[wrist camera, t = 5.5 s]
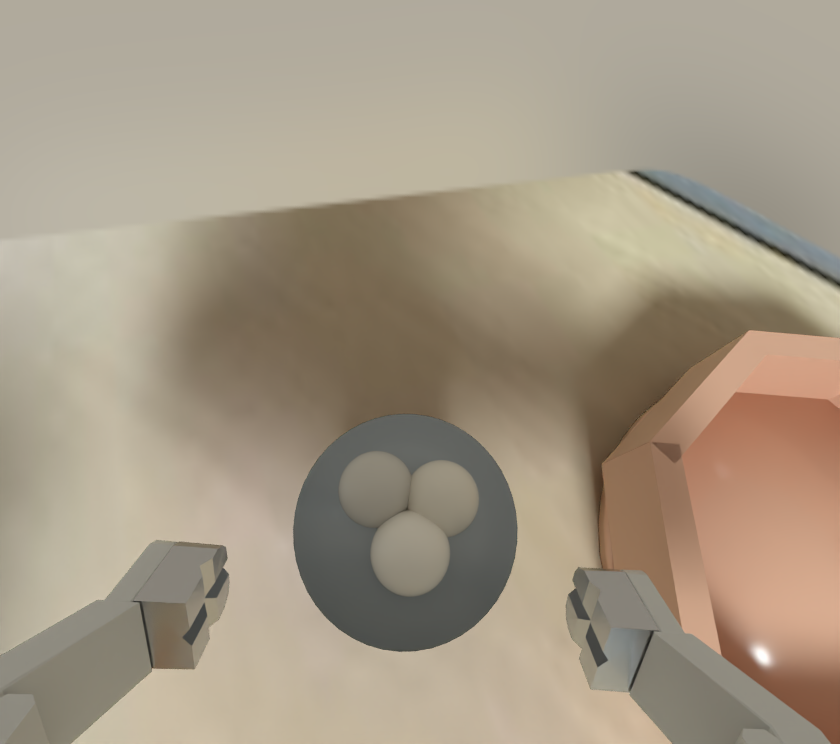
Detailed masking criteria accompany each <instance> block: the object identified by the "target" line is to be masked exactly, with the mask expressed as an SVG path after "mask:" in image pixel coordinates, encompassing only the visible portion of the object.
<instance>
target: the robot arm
mask: <svg viewBox="0 0 840 744" xmlns="http://www.w3.org/2000/svg"><path fill="white" fill-rule="evenodd" d="M226 561H227V551H226V547H224V546H223V545H213V544H201V543H190V542H173V541H162V540H156V541H154V542H152V543H151V544H149V545H148V547H147V548H146V549H145V550H144V552H143V553H142V554H141V555H140V557H139V558H138V559H137V560H136V562H135V563H134V564H133V565H132V567H131V568H130V569H129V570H128V572H127V573H126V574H125V575H124V577H123V578H122V579H121V580H120V582H119V583H118V584H117V585H116V587H115V588H114V589H113V590H112V592H111V593H110V594H109V595H108V596H107V598H106V599H105V600H96V601H95V602H93V603H91V604H89V605H88V606H86V607H84V608H82V609H81V610H79V611H77V612H75V613H74V614H72V615H70V616H68V617H67V618H65V619H63V620H62V621H60V622H58V623H56V624H55V625H53V626H51V627H49V628H48V629H46V630H44V631H42V632H41V633H39V634H37V635H35V636H34V637H32V638H30V639H28V640H27V641H25V642H23V643H22V644H20V645H18V646H16V647H15V648H13V649H11V650H9V651H8V652H6V653H4V654H2V655H1V656H0V744H71V743H72V742H73V741H74V740H75V739H76V738H78V737H79V736H80V735H81V734H82V733H83V732H84V731H85V730H87V729H88V728H89V727H90V726H91V725H92V724H93V723H94V722H96V721H97V720H98V719H99V718H100V717H101V716H102V715H103V714H104V713H106V712H107V711H108V710H109V709H110V708H111V707H112V706H113V705H115V704H116V703H117V702H118V701H119V700H120V699H121V698H122V697H124V696H125V695H126V694H127V693H128V692H129V691H130V690H131V689H132V688H134V687H135V686H136V685H137V684H138V683H139V682H140V681H141V680H143V679H144V678H145V677H146V676H147V675H148V674H149V673H150V672H152V668H157V669H195V668H196V666H197V664H198V662H199V660H200V658H201V656H202V654H203V651H204V649H205V647H206V645H207V643H208V641H209V639H210V637H209V627H210V626H211V625H212V624H214V623H215V622H216V621H218V620H219V618H220V616H221V614H222V612H223V610H224V607H225V604H226V600H227V597H228V592H229V574H228V573H227V572H226V570H225V569H224V568H223V566H224V564H225V563H226ZM573 582H574V585H575V587H576V589H574V590H573V591H572V592H571V593H570V594H568V598H567V603H566V620H567V625H568V629H569V632H570V635H571V638H572V640H573V641H574V642H575V643H576V644H577V645H578V646H579V647H581V648H582V650H581V653H580V657H579V660H580V663H581V665H582V668H583V671H584V673H585V676H586V679H587V681H588V684H589V687H590V689H592V690H605V691H617V692H629V693H630V694H629V695H630V696H631V697H632V698H633V699H634V701H635V702H636V703H637V704H638V705H639V706H640V707H641V708H642V710H643V711H644V712H645V713H646V714H647V715H648V716H649V718H650V719H651V720H652V721H653V722H654V723H655V724H656V725H657V727H658V728H659V729H660V730H661V731H662V732H663V733H664V734H665V736H666V737H667V738H668V739H669V740H670V741H671V742H672V744H831V743H830V742H829V740H828V739H827V738H826V737H825V735H824V734H823V733H822V731H821V730H819V729H818V728H817V727H815V726H814V725H813V724H811V723H810V722H809V721H807V720H806V719H805V718H803V717H802V716H801V715H799V714H798V713H797V712H795V711H794V710H793V709H791V708H790V707H789V706H787V705H786V704H785V703H783V702H782V701H781V700H779V699H778V698H777V697H775V696H774V695H773V694H771V693H770V692H769V691H767V690H766V689H765V688H763V687H762V686H761V685H759V684H758V683H757V682H755V681H754V680H753V679H751V678H750V677H749V676H747V675H746V674H745V673H743V672H742V671H741V670H739V669H738V668H737V667H735V666H734V665H733V664H731V663H730V662H729V661H727V660H726V659H725V658H723V657H722V656H721V655H719V654H718V653H717V652H715V651H714V650H713V649H711V648H710V647H709V646H707V645H706V644H705V643H703V642H702V641H701V640H699V639H698V638H697V637H695V636H694V635H693V634H688V633H685V632H684V631H683V629H682V628H681V626H680V625H679V623H678V621H677V620H676V618H675V617H674V615H673V614H672V612H671V611H670V609H669V608H668V606H667V604H666V603H665V601H664V600H663V598H662V597H661V595H660V594H659V592H658V591H657V589H656V587H655V586H654V584H653V583H652V581H651V580H650V578H649V577H648V575H647V574H646V573H645V572H643V571H642V570H618V569H600V568H581V567H578V569H577V570H576V571H575V573H574V577H573Z"/></svg>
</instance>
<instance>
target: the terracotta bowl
mask: <svg viewBox="0 0 840 744" xmlns="http://www.w3.org/2000/svg"><path fill="white" fill-rule="evenodd" d="M602 472H603V481H604V485H603V490H602V495H601V499H600V513H599V543H600V556H601V562H602V568H603V569H618V570H642V571H643V572H645V573H646V574H647V575H648V577H649V578H650V580H651V581H652V583H653V584H654V586H655V587H656V589H657V591H658V592H659V594H660V595H661V597H662V598H663V600H664V601H665V603H666V604H667V606H668V608H669V609H670V611H671V612H672V614H673V615H674V617H675V618H676V620H677V621H678V623H679V625H680V626H681V628H682V629H683V631H684V632H685V633H688V634H693V635H694V636H695V637H697V638H698V639H699V640H701V641H702V642H703V643H705V644H706V645H707V646H709V647H710V648H711V649H713V650H714V651H715V652H717V653H718V654H719V655H721V656H722V657H723V658H725V659H726V660H727V661H729V662H730V663H731V664H733V665H734V666H735V667H737V668H738V669H739V670H741V671H742V672H743V673H745V674H746V675H747V676H749V677H750V678H751V679H753V680H754V681H755V682H757V683H758V684H759V685H761V686H762V687H763V688H765V689H766V690H767V691H769V692H770V693H771V694H773V695H774V696H775V697H777V698H778V699H779V700H781V701H782V702H783V703H785V704H786V705H787V706H789V707H790V708H791V709H793V710H794V711H795V712H797V713H798V714H799V715H801V716H802V717H803V718H805V719H806V720H807V721H809V722H810V723H811V724H813V725H814V726H815V727H817V728H818V729H819V730H821V731H822V733H823V734H824V735H825V737H826V738H827V739H828V740H829V742H830V743H831V744H840V338H834V337H822V336H811V335H799V334H788V333H776V332H765V331H753V330H749V331H747V332H746V333H744V334H742V335H741V336H739V337H738V338H736V339H735V340H733V341H732V342H730V343H729V344H727V345H725V346H724V347H722V348H721V349H719V350H718V351H716V352H715V353H713V354H711V355H710V356H708V357H707V358H705V359H704V360H702V361H701V362H699V363H697V364H696V365H694V366H693V367H691V368H690V369H689V370H688V371H687V372H686V373H685V374H684V375H683V376H682V377H681V378H680V380H679V381H678V382H677V383H676V384H675V385H674V386H673V387H672V388H671V389H670V390H669V391H668V393H667V394H666V395H665V396H664V397H663V398H662V399H661V400H660V401H659V402H658V403H656V404H655V405H653V406H652V407H650V408H649V409H648V410H647V411H646V412H645V413H644V414H642V415H641V416H640V417H639V418H638V419H637V420H636V421H635V422H634V423H633V425H632V426H631V427H630V429H629V430H628V431H627V432H626V434H625V435H624V436H623V438H622V440H621V442H620V443H619V445H618V447H617V448H616V449H615V450H614V451H613V452H612V453H611V454H610V455H609V456H608V458H607V459H606V460H605V461H604V462H603V463H602Z"/></svg>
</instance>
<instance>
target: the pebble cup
mask: <svg viewBox="0 0 840 744" xmlns="http://www.w3.org/2000/svg"><path fill="white" fill-rule="evenodd" d="M293 538H294V550H295V557H296V562H297V565H298V569H299V572H300V576H301V578H302V580H303V583H304V585H305V587H306V590H307V592H308V593H309V595H310V597H311V598H312V600H313V601H314V603H315V605H316V606H317V607H318V608H319V610H320V611H321V612H322V613H323V614H324V616H325V617H326V618H327V619H328V620H329V621H330V622H331V623H333V624H334V625H335V626H336V627H337V628H338V629H339V630H341V631H342V632H344V633H346V634H347V635H349V636H350V637H352V638H353V639H356V640H358V641H360V642H362V643H364V644H366V645H369V646H373V647H376V648H379V649H383V650H391V651H398V652H402V651H419V650H425V649H430V648H434V647H436V646H439V645H442V644H445V643H448V642H450V641H452V640H453V639H455V638H457V637H459V636H461V635H463V634H464V633H465V632H467V631H468V630H469V629H471V628H472V627H474V626H475V625H476V624H477V623H478V622H479V621H480V620H481V619H482V618H483V617H484V616H485V615H486V614H487V613H488V612H489V610H490V609H491V608H492V606H493V605H494V604H495V603H496V601H497V600H498V598H499V596H500V594H501V593H502V591H503V589H504V587H505V585H506V583H507V580H508V578H509V576H510V573H511V570H512V566H513V562H514V559H515V553H516V546H517V518H516V510H515V506H514V501H513V497H512V494H511V491H510V489H509V486H508V483H507V481H506V479H505V477H504V475H503V473H502V471H501V469H500V468H499V466H498V465H497V463H496V462H495V460H494V459H493V457H492V456H491V455H490V454H489V453H488V451H487V450H486V449H485V448H484V447H483V446H482V445H481V444H480V443H479V442H478V441H477V440H475V439H474V438H473V437H472V436H470V435H469V434H467V433H466V432H465V431H463V430H461V429H460V428H458V427H456V426H454V425H452V424H450V423H448V422H445V421H443V420H440V419H437V418H433V417H429V416H424V415H416V414H397V415H388V416H384V417H379V418H375V419H372V420H370V421H367V422H365V423H362V424H360V425H358V426H356V427H354V428H352V429H351V430H349V431H348V432H346V433H345V434H343V435H342V436H340V437H339V438H338V439H337V440H336V441H334V442H333V443H332V444H331V445H330V446H329V447H328V448H327V449H326V450H325V451H324V452H323V454H322V455H321V456H320V457H319V458H318V460H317V461H316V463H315V464H314V466H313V467H312V469H311V470H310V472H309V474H308V476H307V478H306V480H305V482H304V484H303V487H302V489H301V492H300V495H299V498H298V502H297V506H296V510H295V517H294V527H293Z"/></svg>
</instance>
